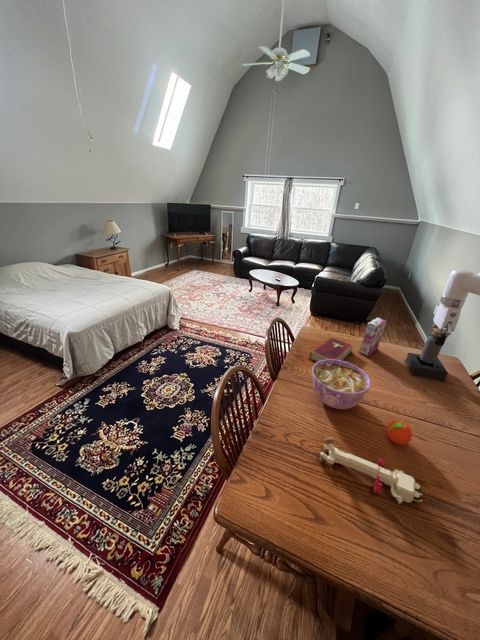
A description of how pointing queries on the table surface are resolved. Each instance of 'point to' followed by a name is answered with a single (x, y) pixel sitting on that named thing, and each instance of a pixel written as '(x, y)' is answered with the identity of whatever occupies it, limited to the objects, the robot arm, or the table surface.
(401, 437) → the red tomato
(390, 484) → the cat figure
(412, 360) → the holder
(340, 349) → the hardcover book
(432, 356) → the bottle
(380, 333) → the candy bar box
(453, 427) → the table surface
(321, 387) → the bowl of food
